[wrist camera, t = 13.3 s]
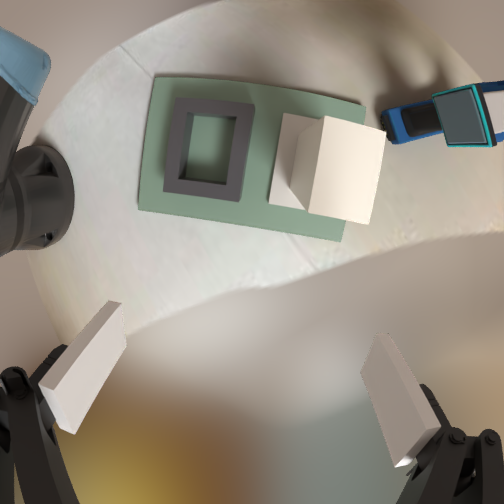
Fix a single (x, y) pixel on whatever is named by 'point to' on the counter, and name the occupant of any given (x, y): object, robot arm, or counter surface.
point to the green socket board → (233, 153)
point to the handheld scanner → (452, 117)
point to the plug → (338, 169)
